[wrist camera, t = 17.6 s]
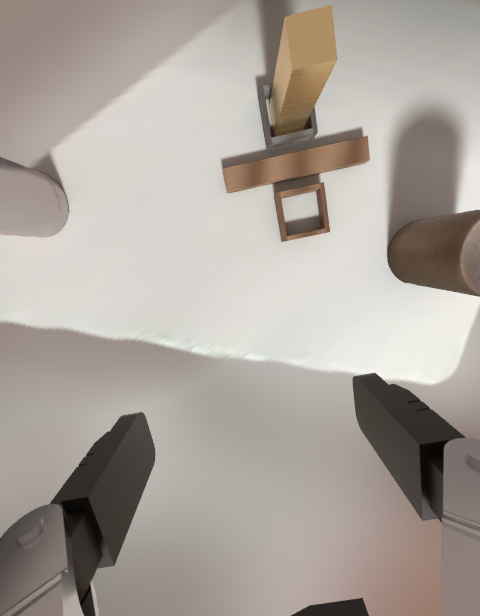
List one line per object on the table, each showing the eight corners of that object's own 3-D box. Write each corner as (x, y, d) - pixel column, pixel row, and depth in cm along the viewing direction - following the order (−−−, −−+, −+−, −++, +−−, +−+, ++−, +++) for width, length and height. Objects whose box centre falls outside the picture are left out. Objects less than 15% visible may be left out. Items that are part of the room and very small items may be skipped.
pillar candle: (396, 293, 42) (481, 316, 27) (379, 233, 40) (461, 223, 25) (457, 270, 41) (579, 281, 26) (444, 208, 39) (567, 182, 24)
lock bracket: (238, 250, 41) (238, 250, 39) (210, 106, 36) (208, 98, 34) (370, 223, 39) (376, 222, 37) (356, 72, 35) (363, 61, 33)
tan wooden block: (274, 136, 37) (292, 70, 23) (269, 104, 36) (284, 16, 23) (302, 130, 37) (337, 59, 23) (298, 97, 36) (331, 4, 22)
